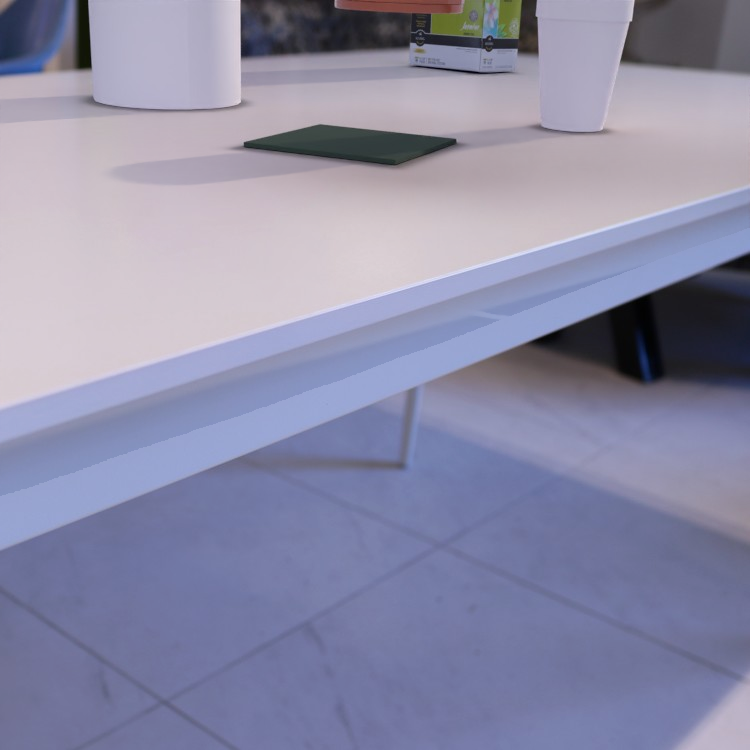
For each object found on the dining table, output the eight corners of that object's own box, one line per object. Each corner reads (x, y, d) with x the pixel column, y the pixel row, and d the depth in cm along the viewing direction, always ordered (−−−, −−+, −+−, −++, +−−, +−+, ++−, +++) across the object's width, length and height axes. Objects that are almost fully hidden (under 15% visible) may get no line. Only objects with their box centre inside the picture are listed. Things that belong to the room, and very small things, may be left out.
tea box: (518, 71, 168) (526, -27, 163) (479, 74, 161) (486, -29, 156) (446, 63, 178) (451, -30, 173) (406, 65, 171) (411, -32, 166)
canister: (186, 89, 127) (181, -92, 120) (270, 104, 116) (271, -93, 109) (65, 95, 116) (53, -103, 109) (146, 113, 106) (138, -106, 98)
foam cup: (544, 133, 103) (557, -7, 99) (513, 120, 112) (524, -10, 107) (633, 134, 105) (651, -3, 101) (596, 121, 114) (611, -6, 109)
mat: (456, 143, 96) (456, 138, 95) (395, 164, 84) (395, 159, 83) (319, 128, 101) (319, 124, 101) (243, 146, 89) (243, 142, 89)
